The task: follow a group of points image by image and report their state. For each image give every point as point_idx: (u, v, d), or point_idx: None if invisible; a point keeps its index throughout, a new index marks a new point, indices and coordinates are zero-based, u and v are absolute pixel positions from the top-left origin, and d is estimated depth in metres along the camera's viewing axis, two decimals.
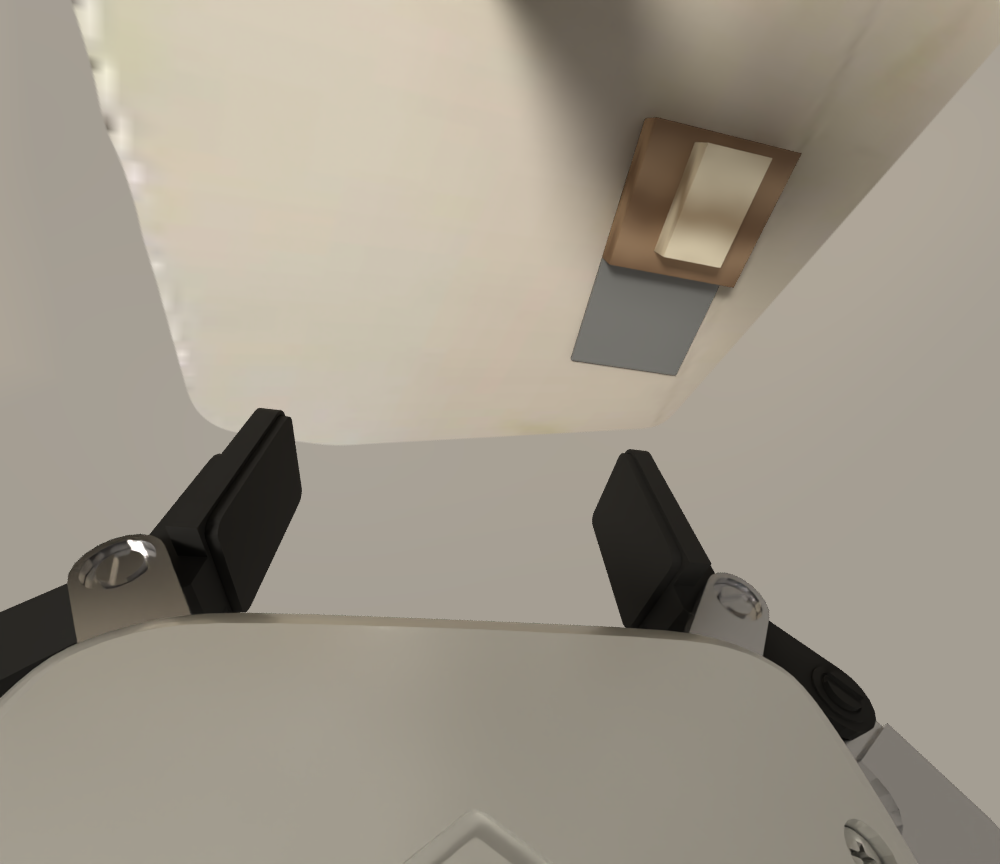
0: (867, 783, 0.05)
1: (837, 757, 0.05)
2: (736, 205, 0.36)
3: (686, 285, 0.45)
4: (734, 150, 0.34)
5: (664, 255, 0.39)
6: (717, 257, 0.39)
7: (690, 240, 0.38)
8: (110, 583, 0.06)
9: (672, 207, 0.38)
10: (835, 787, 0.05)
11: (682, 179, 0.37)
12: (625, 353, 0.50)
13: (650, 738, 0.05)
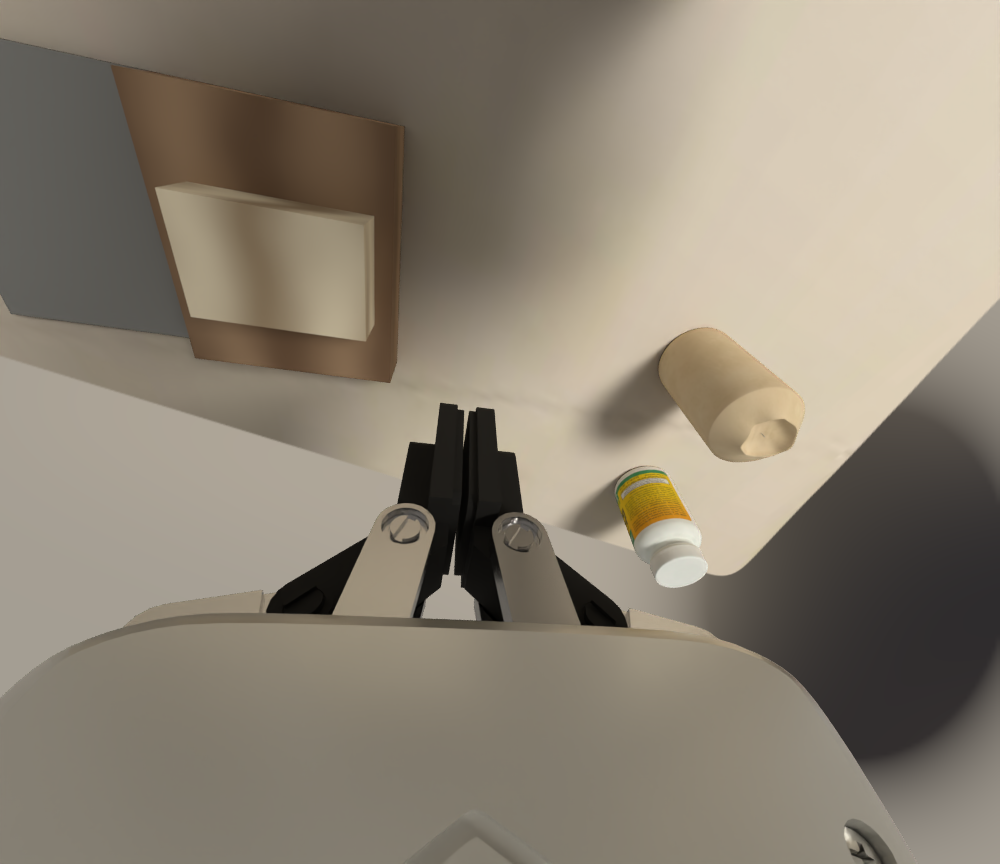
0: (867, 783, 0.05)
1: (837, 757, 0.05)
2: (291, 309, 0.22)
3: None
4: (362, 277, 0.21)
5: (159, 189, 0.18)
6: (205, 305, 0.21)
7: (208, 241, 0.19)
8: (393, 536, 0.08)
9: (267, 198, 0.20)
10: (835, 787, 0.05)
11: (317, 206, 0.21)
12: None
13: (650, 738, 0.05)
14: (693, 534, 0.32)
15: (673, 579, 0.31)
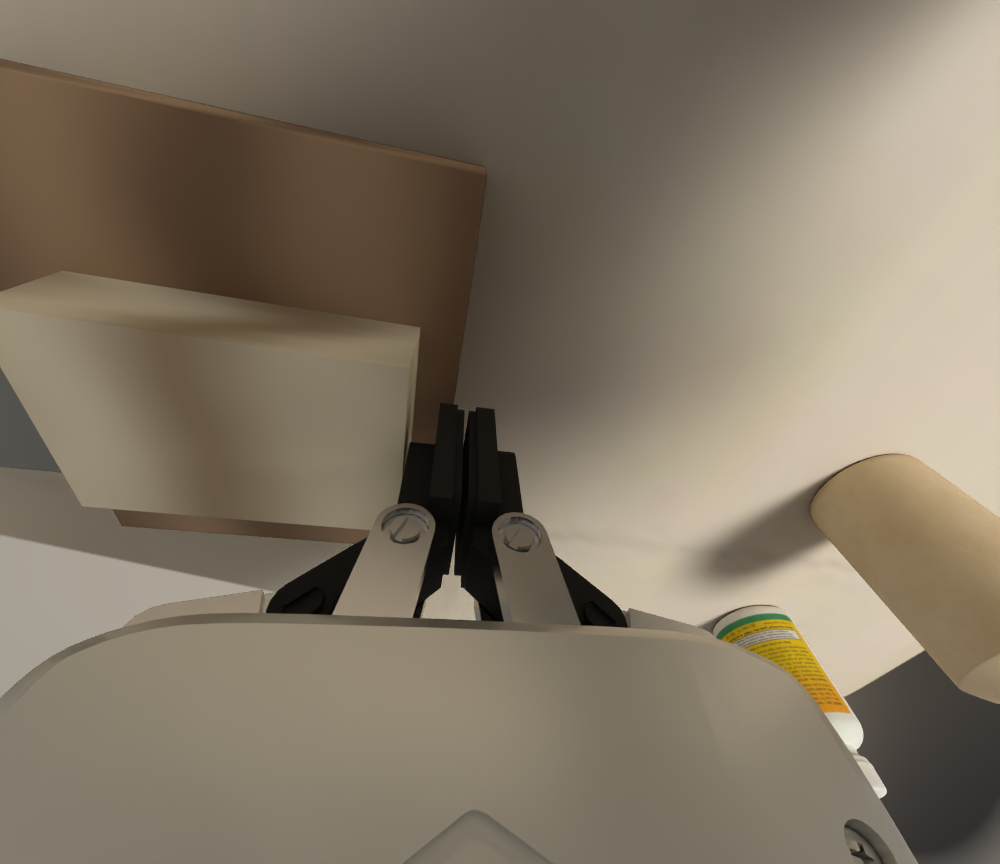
0: (867, 783, 0.05)
1: (837, 757, 0.05)
2: (267, 494, 0.12)
3: None
4: (400, 447, 0.11)
5: None
6: (106, 491, 0.12)
7: (98, 396, 0.10)
8: (393, 536, 0.08)
9: (220, 304, 0.10)
10: (835, 787, 0.05)
11: (317, 313, 0.11)
12: None
13: (650, 738, 0.05)
14: (858, 737, 0.22)
15: None
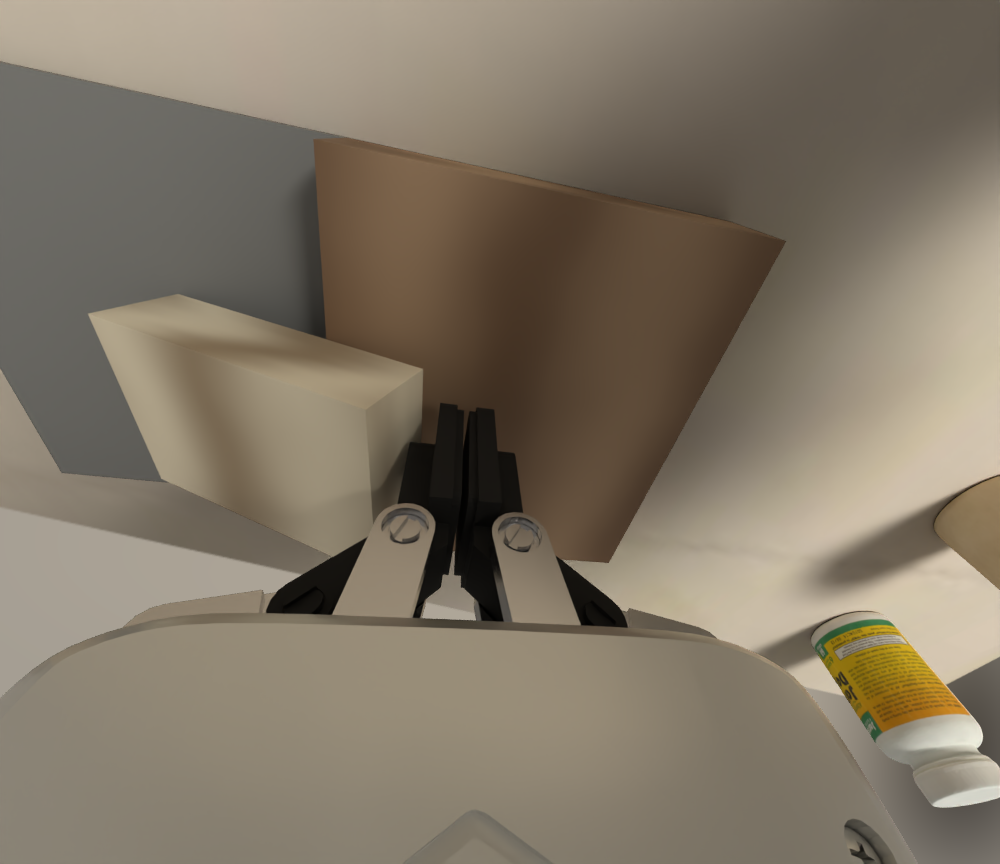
0: (867, 783, 0.05)
1: (837, 757, 0.05)
2: (270, 504, 0.13)
3: None
4: (368, 489, 0.10)
5: (93, 316, 0.11)
6: (172, 470, 0.14)
7: (159, 394, 0.12)
8: (393, 536, 0.08)
9: (259, 328, 0.12)
10: (835, 787, 0.05)
11: (333, 345, 0.12)
12: (24, 305, 0.13)
13: (650, 738, 0.05)
14: (980, 738, 0.23)
15: (955, 802, 0.23)
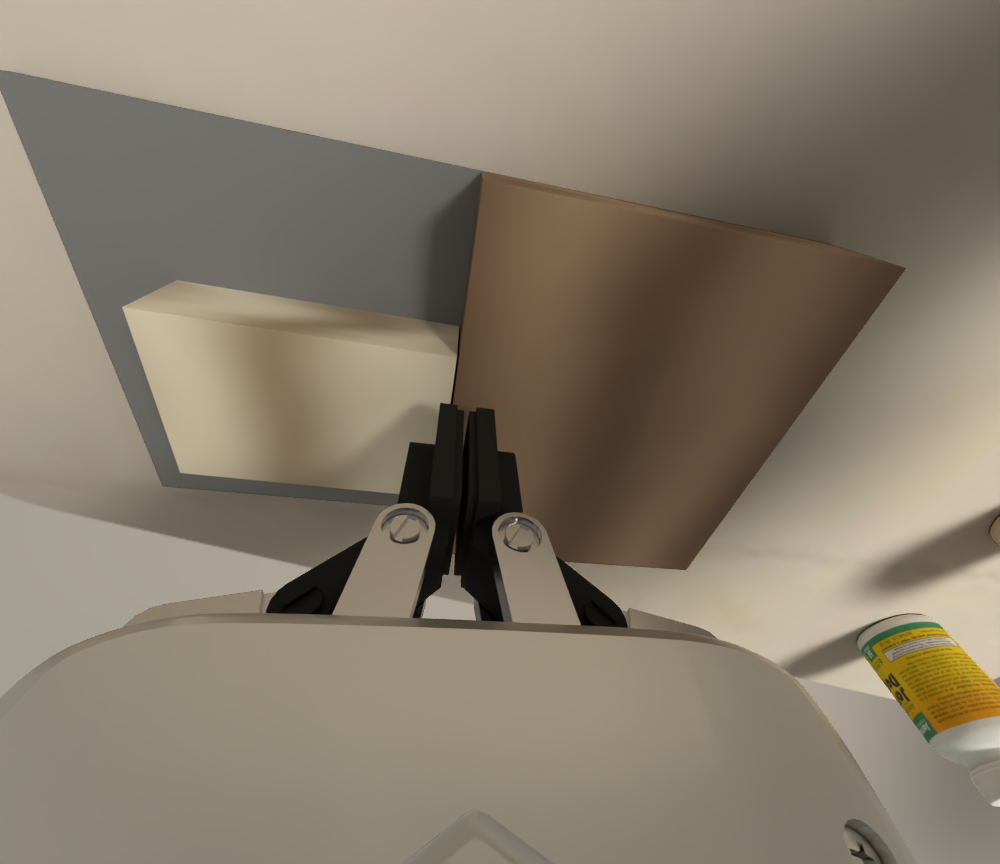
0: (867, 783, 0.05)
1: (837, 757, 0.05)
2: (332, 462, 0.14)
3: None
4: None
5: (129, 309, 0.11)
6: (202, 459, 0.14)
7: (210, 380, 0.12)
8: (393, 536, 0.08)
9: (301, 307, 0.13)
10: (835, 787, 0.05)
11: (377, 315, 0.14)
12: None
13: (650, 738, 0.05)
14: None
15: None
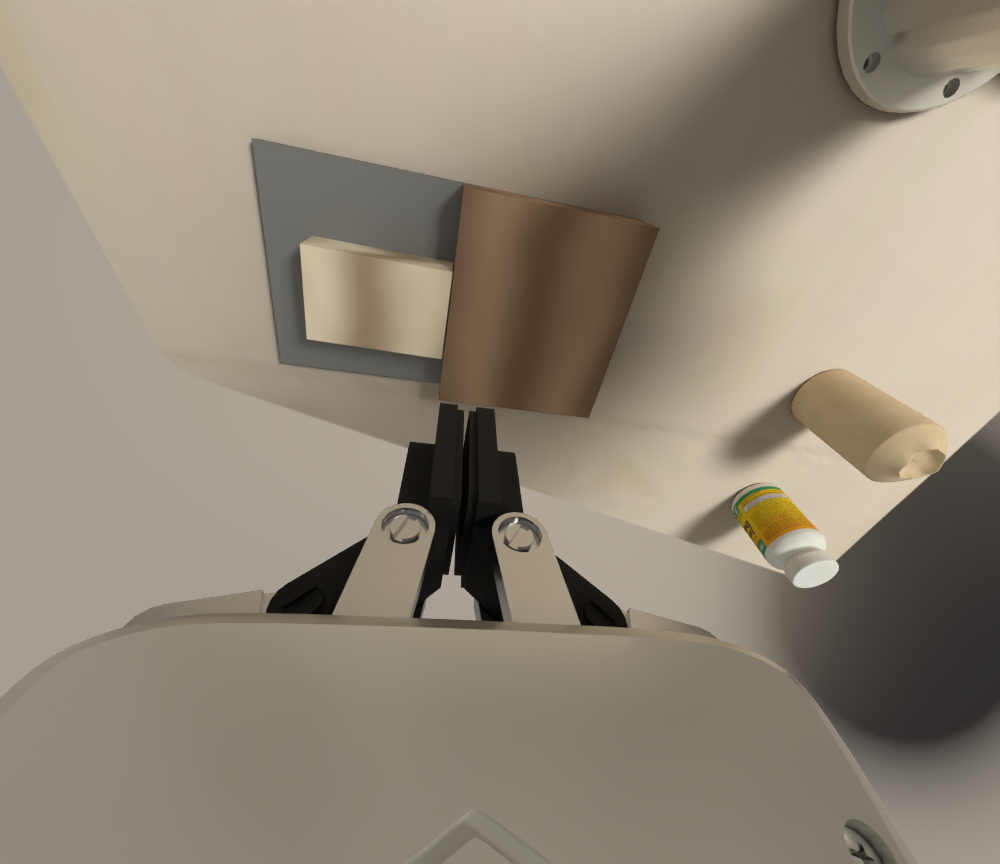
0: (867, 783, 0.05)
1: (837, 757, 0.05)
2: (387, 334, 0.27)
3: None
4: (446, 310, 0.27)
5: (302, 245, 0.24)
6: (320, 330, 0.27)
7: (332, 282, 0.25)
8: (393, 536, 0.08)
9: (374, 249, 0.26)
10: (835, 787, 0.05)
11: (411, 255, 0.27)
12: (297, 262, 0.27)
13: (650, 738, 0.05)
14: (822, 542, 0.37)
15: (807, 580, 0.37)
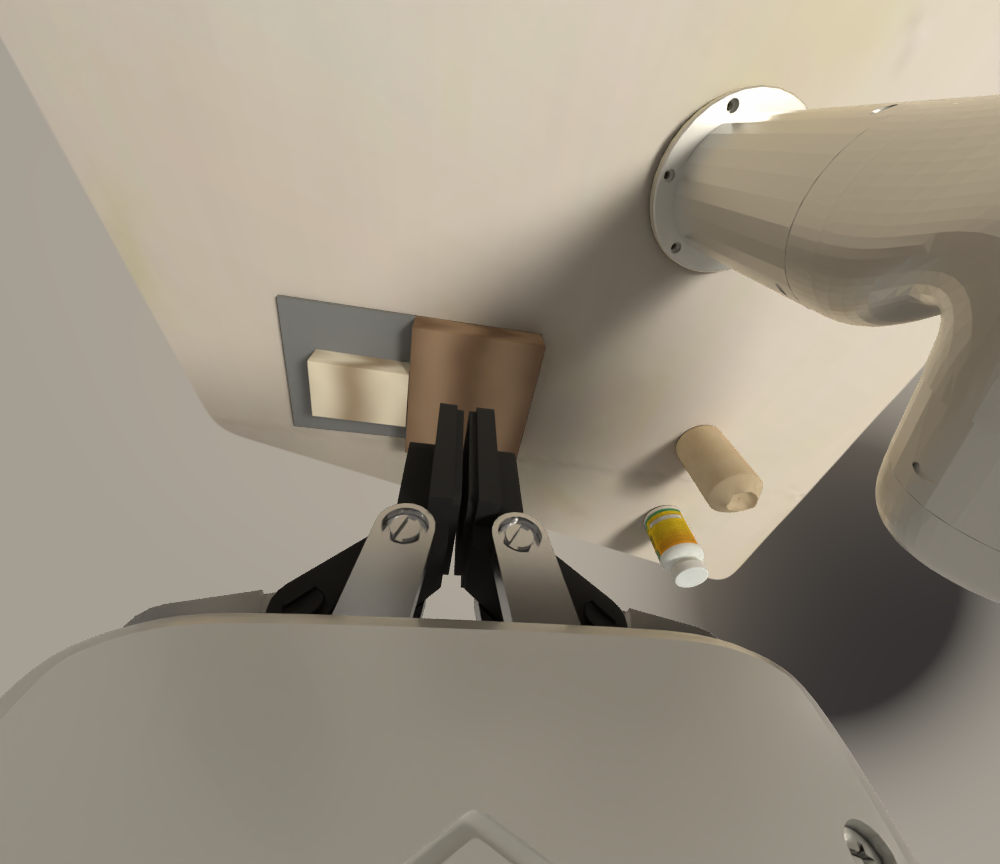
0: (867, 783, 0.05)
1: (837, 757, 0.05)
2: (366, 412, 0.40)
3: None
4: (406, 397, 0.39)
5: (309, 361, 0.37)
6: (321, 410, 0.40)
7: (329, 382, 0.38)
8: (393, 536, 0.08)
9: (357, 357, 0.39)
10: (835, 787, 0.05)
11: (382, 359, 0.39)
12: (305, 364, 0.40)
13: (650, 738, 0.05)
14: (699, 553, 0.49)
15: (686, 582, 0.49)
